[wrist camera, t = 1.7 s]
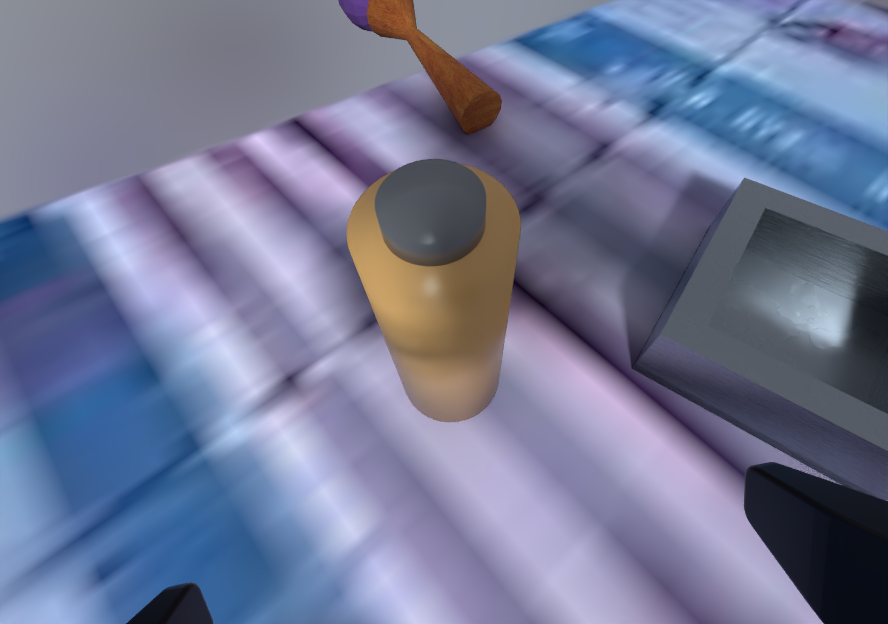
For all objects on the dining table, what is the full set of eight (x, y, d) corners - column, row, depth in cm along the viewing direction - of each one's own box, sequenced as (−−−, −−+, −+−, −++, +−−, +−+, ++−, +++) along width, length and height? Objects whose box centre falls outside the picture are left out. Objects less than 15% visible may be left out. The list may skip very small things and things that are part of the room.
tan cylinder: (517, 362, 23) (558, 177, 12) (463, 442, 22) (453, 312, 10) (439, 316, 25) (413, 114, 14) (383, 386, 23) (298, 220, 12)
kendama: (437, 103, 28) (312, -47, 36) (452, 163, 34) (341, 22, 41) (516, 54, 28) (375, -86, 36) (518, 122, 34) (396, -12, 41)
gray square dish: (920, 316, 23) (998, 273, 20) (872, 501, 19) (960, 488, 16) (709, 227, 27) (744, 177, 23) (631, 368, 23) (660, 333, 19)
